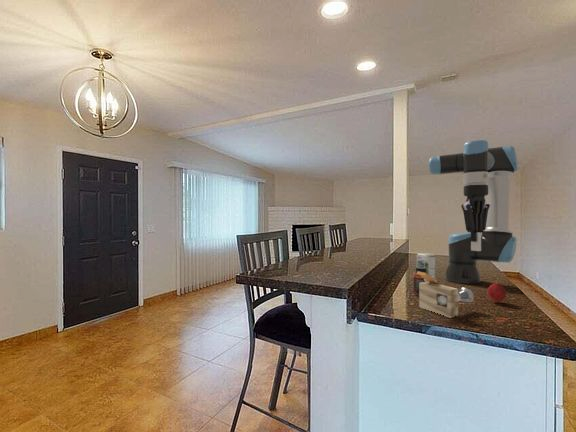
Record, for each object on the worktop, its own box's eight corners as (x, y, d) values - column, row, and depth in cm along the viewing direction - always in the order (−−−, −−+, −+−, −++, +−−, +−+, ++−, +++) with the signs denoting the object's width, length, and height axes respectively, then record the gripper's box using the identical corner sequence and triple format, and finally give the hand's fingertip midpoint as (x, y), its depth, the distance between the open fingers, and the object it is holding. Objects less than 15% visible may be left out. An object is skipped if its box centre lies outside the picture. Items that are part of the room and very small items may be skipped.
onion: (489, 299, 117) (489, 278, 117) (507, 302, 113) (507, 281, 113) (485, 302, 113) (485, 281, 113) (504, 306, 109) (504, 284, 109)
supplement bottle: (430, 297, 122) (430, 269, 122) (415, 296, 123) (414, 268, 123) (427, 293, 128) (426, 266, 128) (412, 292, 129) (411, 265, 129)
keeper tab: (429, 282, 110) (430, 279, 111) (438, 284, 107) (439, 281, 107) (416, 273, 107) (417, 270, 107) (424, 275, 104) (426, 272, 104)
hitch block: (427, 305, 111) (426, 281, 111) (458, 315, 101) (457, 288, 100) (419, 307, 110) (419, 282, 109) (450, 317, 99) (449, 290, 99)
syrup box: (416, 284, 142) (416, 253, 142) (424, 282, 145) (424, 252, 145) (427, 287, 137) (426, 255, 137) (435, 285, 140) (435, 253, 140)
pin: (460, 299, 109) (460, 286, 109) (473, 303, 105) (473, 289, 105) (435, 305, 104) (435, 291, 104) (448, 309, 99) (448, 294, 99)
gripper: (474, 183, 102) (475, 253, 103) (497, 184, 108) (497, 250, 109) (453, 185, 109) (454, 250, 110) (476, 185, 115) (476, 248, 115)
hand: (476, 250), depth 109 cm, fingers closed
